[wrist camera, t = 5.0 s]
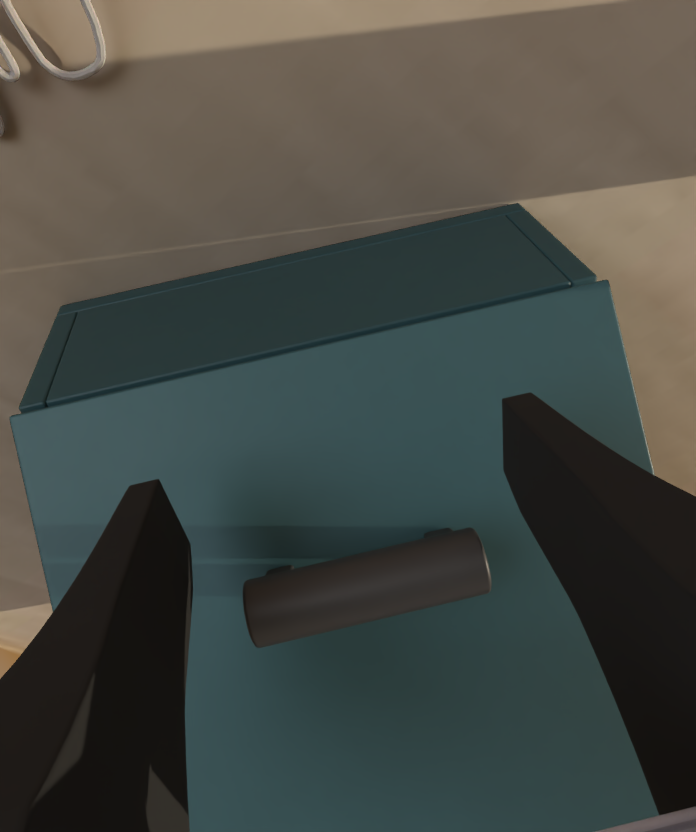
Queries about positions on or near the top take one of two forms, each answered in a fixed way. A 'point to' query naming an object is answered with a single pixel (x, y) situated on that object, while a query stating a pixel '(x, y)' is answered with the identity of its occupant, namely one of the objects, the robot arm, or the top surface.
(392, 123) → the top surface
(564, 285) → the bin
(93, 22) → the headphones
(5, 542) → the top surface
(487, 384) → the bin lid
